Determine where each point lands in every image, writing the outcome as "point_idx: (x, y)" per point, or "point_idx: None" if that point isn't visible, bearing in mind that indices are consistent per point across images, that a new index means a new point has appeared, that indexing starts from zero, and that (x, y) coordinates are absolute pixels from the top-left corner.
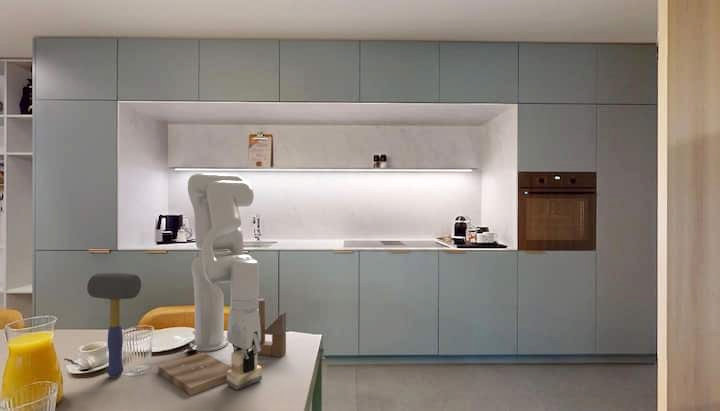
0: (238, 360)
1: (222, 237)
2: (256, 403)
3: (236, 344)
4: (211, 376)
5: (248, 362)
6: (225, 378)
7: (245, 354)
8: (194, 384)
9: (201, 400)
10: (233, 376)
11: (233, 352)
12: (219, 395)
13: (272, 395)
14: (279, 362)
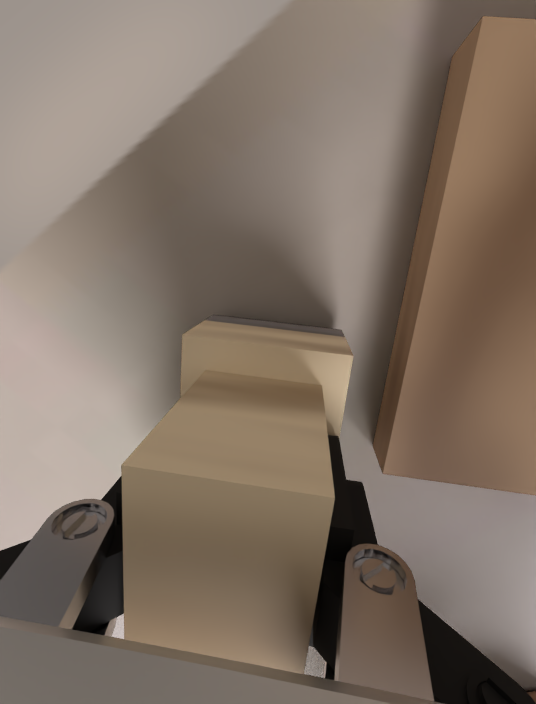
0: (152, 432)
1: None
2: (2, 286)
3: (108, 699)
4: (490, 288)
5: (110, 489)
6: (397, 364)
7: (74, 549)
8: (508, 86)
9: (310, 70)
10: (238, 338)
11: (320, 523)
12: (264, 207)
13: (19, 398)
14: (308, 673)
